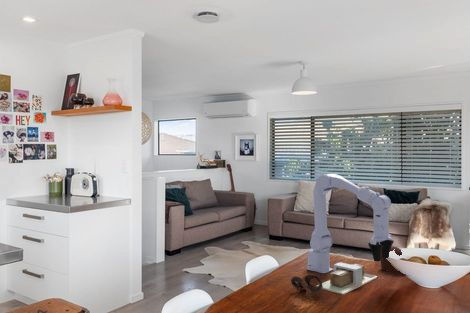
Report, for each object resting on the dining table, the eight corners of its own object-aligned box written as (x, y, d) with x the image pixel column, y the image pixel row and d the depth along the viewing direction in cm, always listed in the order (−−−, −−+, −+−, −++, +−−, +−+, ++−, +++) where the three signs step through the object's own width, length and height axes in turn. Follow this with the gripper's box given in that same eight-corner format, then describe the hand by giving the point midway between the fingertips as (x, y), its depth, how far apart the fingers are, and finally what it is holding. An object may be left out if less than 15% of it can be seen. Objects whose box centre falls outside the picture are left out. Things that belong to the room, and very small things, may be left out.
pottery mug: (320, 290, 153) (325, 275, 149) (317, 308, 145) (322, 293, 141) (290, 280, 156) (294, 265, 152) (286, 298, 148) (290, 283, 144)
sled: (330, 284, 156) (330, 272, 156) (353, 273, 169) (353, 263, 169) (341, 287, 152) (340, 275, 152) (364, 276, 166) (364, 265, 166)
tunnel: (316, 287, 155) (316, 270, 155) (351, 271, 175) (351, 256, 175) (343, 294, 147) (343, 276, 147) (377, 277, 167) (377, 261, 167)
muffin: (375, 270, 177) (375, 248, 177) (380, 264, 187) (380, 243, 187) (404, 274, 171) (403, 251, 171) (407, 267, 181) (407, 246, 181)
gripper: (382, 229, 150) (382, 264, 150) (398, 224, 160) (398, 257, 160) (365, 227, 155) (365, 261, 155) (381, 222, 165) (381, 254, 165)
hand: (381, 259), depth 158 cm, fingers open, 7 cm apart
